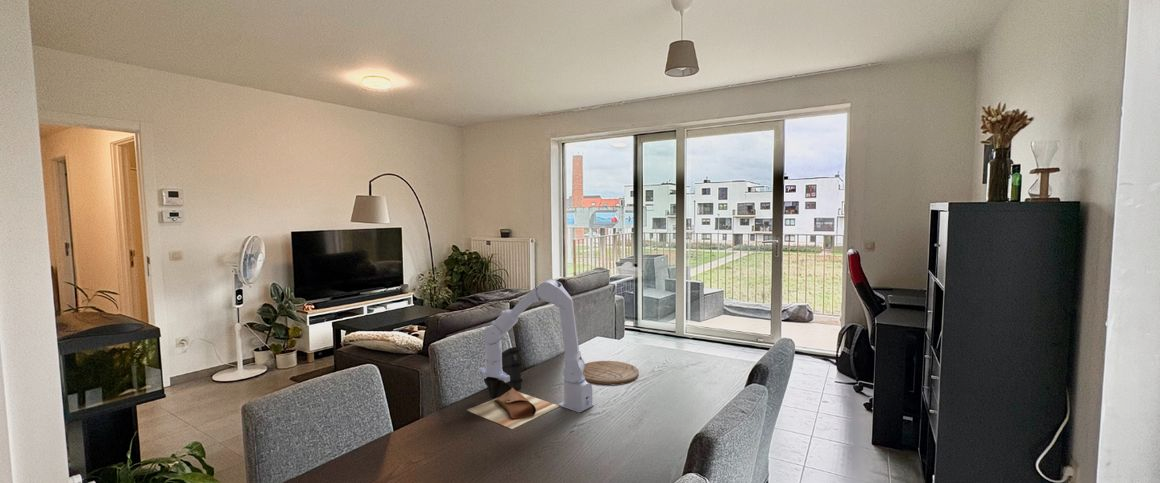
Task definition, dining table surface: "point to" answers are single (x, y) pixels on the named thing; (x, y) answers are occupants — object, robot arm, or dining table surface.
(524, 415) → the sunglasses case
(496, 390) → the robot arm
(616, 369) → the trivet
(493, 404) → the beige flat square sheet
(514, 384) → the black angular block
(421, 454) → the dining table surface
